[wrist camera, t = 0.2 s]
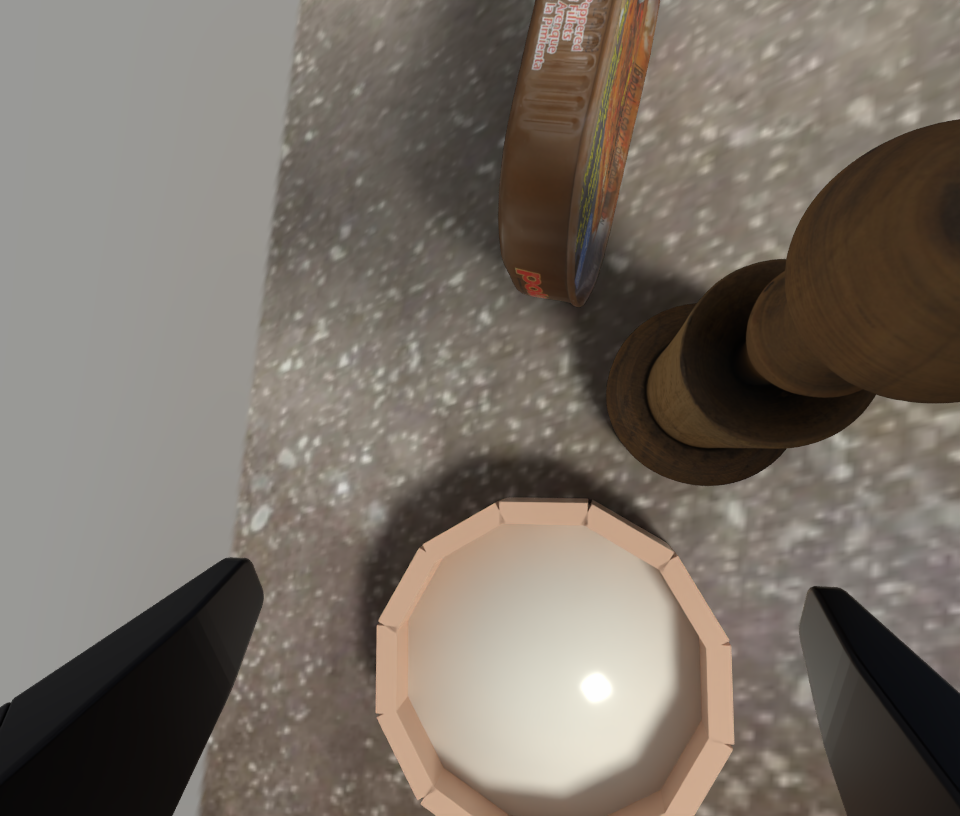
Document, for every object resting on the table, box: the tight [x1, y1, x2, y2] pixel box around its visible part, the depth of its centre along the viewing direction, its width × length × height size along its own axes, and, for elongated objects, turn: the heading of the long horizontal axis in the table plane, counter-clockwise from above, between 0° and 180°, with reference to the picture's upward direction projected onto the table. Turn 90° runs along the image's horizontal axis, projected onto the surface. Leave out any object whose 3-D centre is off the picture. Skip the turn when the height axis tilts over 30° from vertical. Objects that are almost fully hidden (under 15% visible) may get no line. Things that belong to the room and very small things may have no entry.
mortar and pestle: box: [606, 119, 960, 486], centre depth 14 cm, size 7×6×18 cm
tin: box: [498, 0, 660, 307], centre depth 20 cm, size 15×3×8 cm, turn 167°
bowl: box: [376, 497, 734, 816], centre depth 22 cm, size 13×13×2 cm
